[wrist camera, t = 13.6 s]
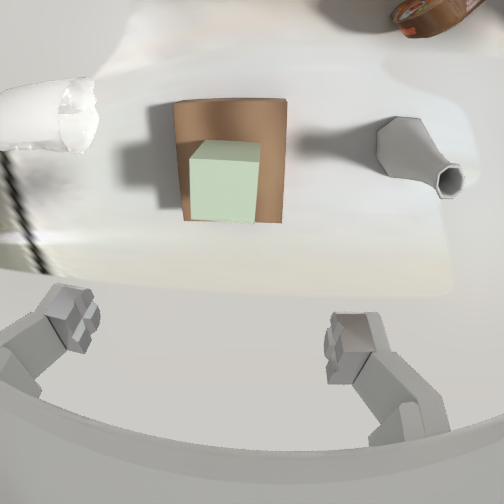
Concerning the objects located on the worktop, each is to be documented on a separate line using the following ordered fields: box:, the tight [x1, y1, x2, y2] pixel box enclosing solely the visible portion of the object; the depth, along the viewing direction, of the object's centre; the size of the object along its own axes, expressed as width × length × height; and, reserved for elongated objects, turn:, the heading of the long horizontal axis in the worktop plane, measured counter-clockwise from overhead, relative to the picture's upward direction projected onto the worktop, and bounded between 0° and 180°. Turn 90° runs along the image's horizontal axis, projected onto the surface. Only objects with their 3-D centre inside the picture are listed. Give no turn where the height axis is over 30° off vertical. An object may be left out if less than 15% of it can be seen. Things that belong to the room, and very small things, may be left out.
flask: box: [376, 117, 465, 199], centre depth 23 cm, size 7×7×10 cm
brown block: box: [173, 98, 287, 223], centre depth 28 cm, size 10×12×4 cm
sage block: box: [189, 140, 261, 224], centre depth 24 cm, size 5×5×6 cm
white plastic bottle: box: [0, 77, 99, 154], centre depth 23 cm, size 8×19×8 cm, turn 81°
